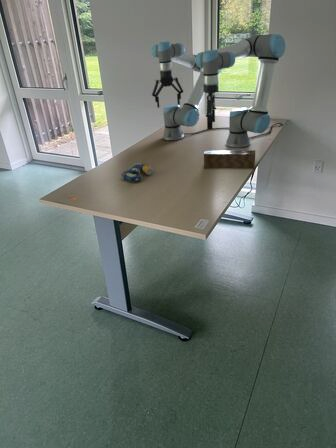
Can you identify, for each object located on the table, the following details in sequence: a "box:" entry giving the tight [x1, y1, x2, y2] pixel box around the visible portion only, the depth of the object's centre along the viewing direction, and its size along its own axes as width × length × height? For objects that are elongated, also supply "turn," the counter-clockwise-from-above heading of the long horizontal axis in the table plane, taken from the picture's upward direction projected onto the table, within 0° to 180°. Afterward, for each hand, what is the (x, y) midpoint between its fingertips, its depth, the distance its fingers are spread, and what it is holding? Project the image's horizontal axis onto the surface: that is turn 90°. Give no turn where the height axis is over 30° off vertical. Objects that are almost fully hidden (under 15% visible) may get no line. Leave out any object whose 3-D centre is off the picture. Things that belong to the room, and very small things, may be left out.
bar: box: [203, 149, 256, 170], centre depth 191 cm, size 28×6×9 cm, turn 78°
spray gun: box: [120, 162, 154, 183], centre depth 191 cm, size 21×4×15 cm
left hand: (168, 105), depth 216 cm, fingers open, 13 cm apart
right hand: (211, 125), depth 183 cm, fingers open, 13 cm apart
